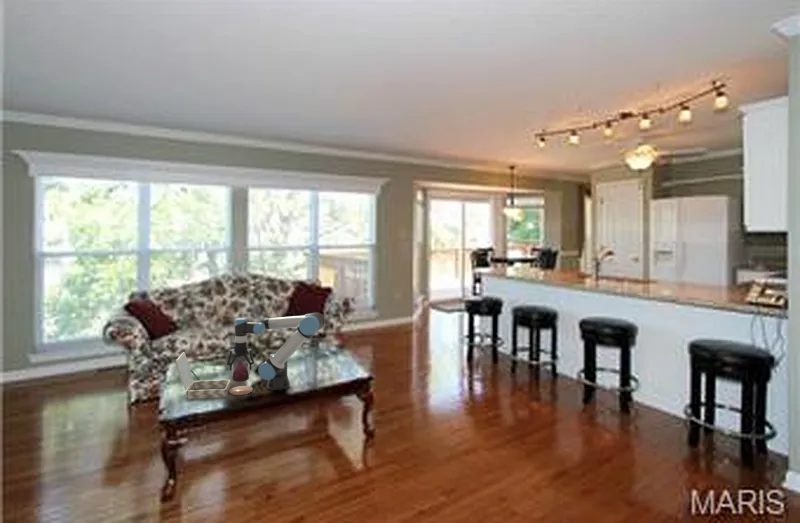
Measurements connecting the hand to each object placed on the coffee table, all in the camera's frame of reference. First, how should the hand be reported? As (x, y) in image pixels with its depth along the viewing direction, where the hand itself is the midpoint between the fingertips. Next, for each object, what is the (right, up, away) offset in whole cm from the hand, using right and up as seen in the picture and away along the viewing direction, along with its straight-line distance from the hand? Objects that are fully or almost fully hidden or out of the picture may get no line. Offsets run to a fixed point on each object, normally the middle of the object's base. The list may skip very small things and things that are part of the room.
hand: (240, 374), depth 330 cm
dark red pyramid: (0, -3, 0) cm, 3 cm away
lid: (-34, +4, -7) cm, 35 cm away
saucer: (0, -11, +1) cm, 11 cm away
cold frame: (-20, -11, -3) cm, 23 cm away
